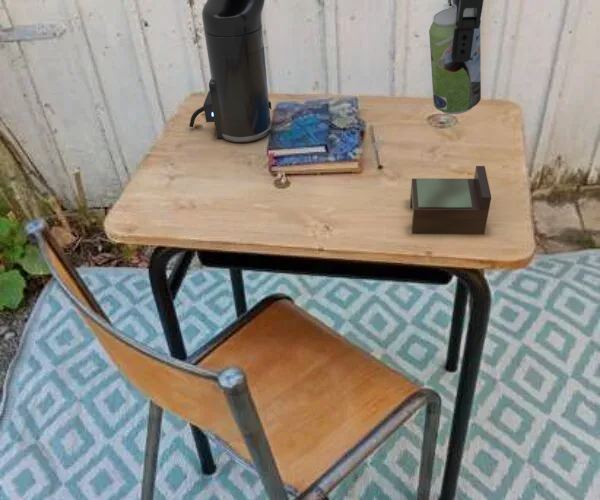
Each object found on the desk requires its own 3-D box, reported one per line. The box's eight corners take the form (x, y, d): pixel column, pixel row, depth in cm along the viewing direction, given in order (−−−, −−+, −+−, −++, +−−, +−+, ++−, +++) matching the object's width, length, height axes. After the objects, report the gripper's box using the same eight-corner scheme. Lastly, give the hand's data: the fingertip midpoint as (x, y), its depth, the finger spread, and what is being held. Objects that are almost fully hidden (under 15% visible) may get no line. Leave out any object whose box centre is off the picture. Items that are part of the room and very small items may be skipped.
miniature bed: (411, 234, 91) (415, 196, 86) (409, 202, 96) (413, 165, 92) (484, 234, 90) (491, 197, 86) (478, 202, 95) (484, 165, 91)
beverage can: (487, 113, 84) (503, 14, 75) (435, 124, 83) (445, 24, 74) (464, 94, 88) (477, -2, 80) (415, 104, 87) (422, 7, 78)
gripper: (436, -129, 73) (423, 29, 85) (447, -99, 63) (431, 75, 75) (503, -132, 72) (481, 27, 85) (525, -102, 63) (496, 73, 75)
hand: (457, 49), depth 80 cm, fingers closed on beverage can, 6 cm apart
